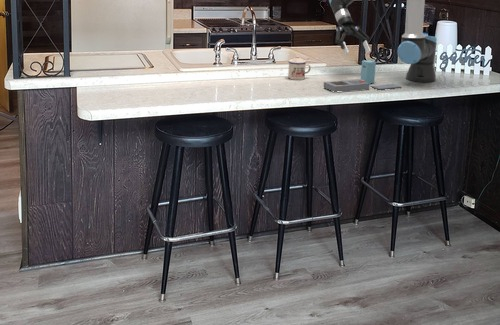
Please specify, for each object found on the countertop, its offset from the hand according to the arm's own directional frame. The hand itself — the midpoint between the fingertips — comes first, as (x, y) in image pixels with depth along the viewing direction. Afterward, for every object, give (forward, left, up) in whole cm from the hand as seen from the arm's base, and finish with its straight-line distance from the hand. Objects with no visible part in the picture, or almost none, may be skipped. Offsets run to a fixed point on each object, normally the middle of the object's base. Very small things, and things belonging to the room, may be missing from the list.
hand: (358, 53), depth 335 cm
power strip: (+18, +18, -14) cm, 28 cm away
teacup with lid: (+28, -11, -14) cm, 33 cm away
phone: (-2, +23, -14) cm, 27 cm away
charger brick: (0, +10, -14) cm, 17 cm away
